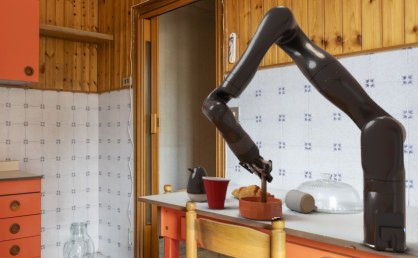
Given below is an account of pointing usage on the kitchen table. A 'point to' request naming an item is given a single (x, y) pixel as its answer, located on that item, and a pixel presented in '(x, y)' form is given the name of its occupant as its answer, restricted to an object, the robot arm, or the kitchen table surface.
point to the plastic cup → (216, 191)
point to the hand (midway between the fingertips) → (268, 180)
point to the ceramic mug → (300, 201)
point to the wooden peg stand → (263, 189)
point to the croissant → (249, 192)
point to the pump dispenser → (196, 184)
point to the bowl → (260, 208)
